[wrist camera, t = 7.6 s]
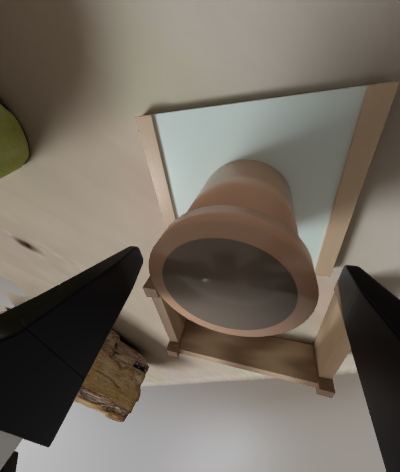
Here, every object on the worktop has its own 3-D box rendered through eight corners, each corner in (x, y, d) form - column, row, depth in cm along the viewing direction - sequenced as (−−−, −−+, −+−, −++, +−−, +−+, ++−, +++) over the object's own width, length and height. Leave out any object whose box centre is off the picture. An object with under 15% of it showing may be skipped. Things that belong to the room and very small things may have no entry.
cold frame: (357, 281, 15) (379, 333, 12) (323, 352, 21) (331, 397, 18) (159, 260, 20) (139, 293, 16) (180, 322, 26) (168, 355, 23)
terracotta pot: (306, 150, 10) (344, 227, 5) (290, 245, 14) (301, 350, 8) (191, 157, 12) (126, 218, 7) (203, 239, 16) (167, 322, 10)
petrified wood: (162, 356, 34) (128, 432, 28) (140, 351, 44) (111, 407, 38) (55, 295, 30) (-13, 371, 24) (57, 305, 40) (10, 360, 34)
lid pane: (390, 81, 8) (400, 81, 8) (327, 268, 15) (330, 276, 14) (142, 115, 12) (135, 117, 11) (177, 254, 18) (174, 260, 18)
